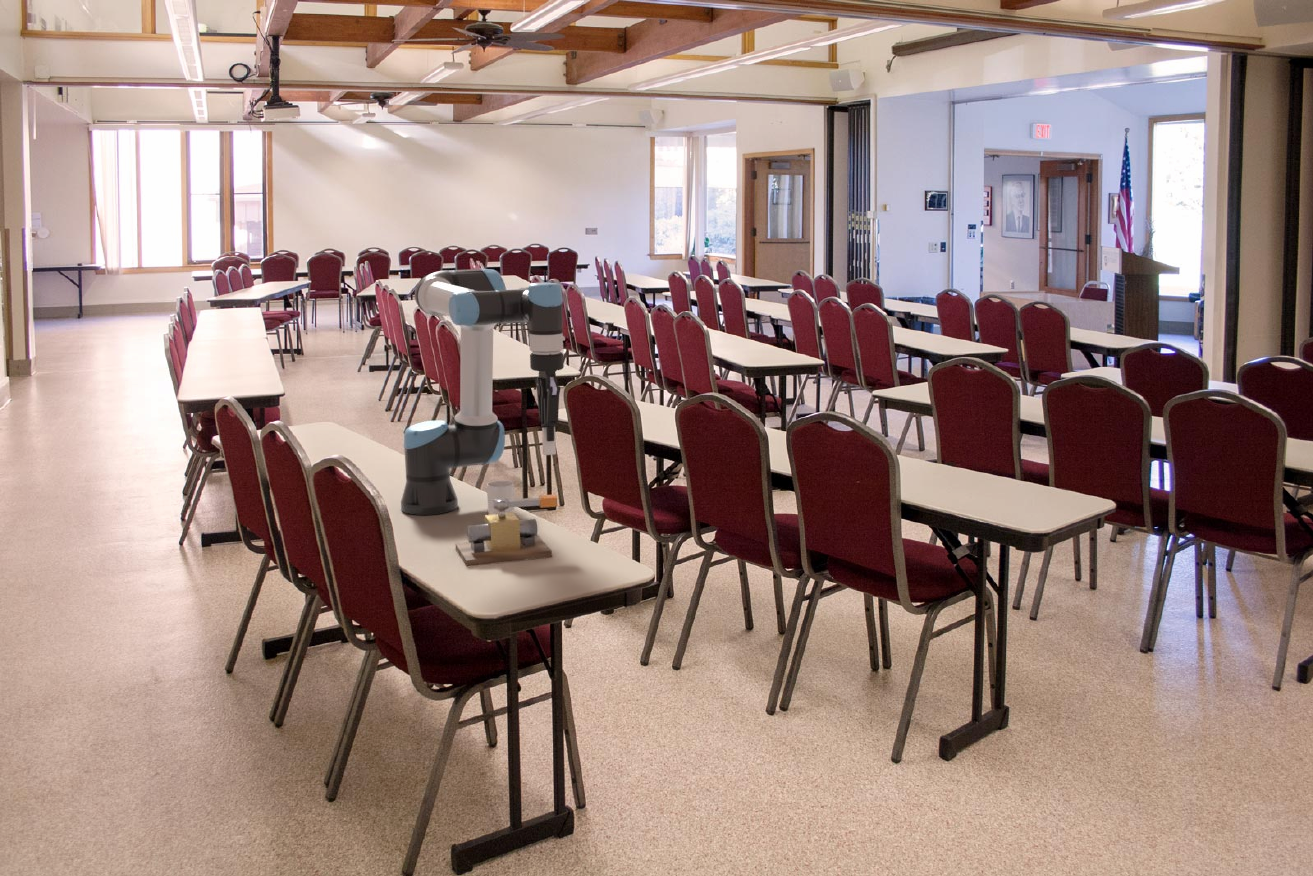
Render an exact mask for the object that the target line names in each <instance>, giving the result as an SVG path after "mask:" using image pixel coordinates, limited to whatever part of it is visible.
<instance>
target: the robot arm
mask: <svg viewBox="0 0 1313 876" xmlns="http://www.w3.org/2000/svg"><path fill="white" fill-rule="evenodd" d="M562 289H563V288H562V286H561V285H560V284H559V283H558V282H550V281H549V282H545V281H544V282H543V281H542V282H534V283H530V284H529V285H528V287H519V288H515V289H507V288H506V285H505V282H504V278H503V277H502V275H501V273H500V272H499V271H497V270H495V269H488V268H471V269H453V270H452V269H451V270H450V269H449V270H447V269H446V270H439V271H435V272H432V273H429V274H427V275H425V276H423V278H421V279H420V280H419V282H418V283H417V285H416V286H415V290H414V299H415V302H416V305H417V306H418V307H419V309H420V310H421V311H422V312H424V313H426V314H429V315H431V316H436V317H437V316H445V317H446V316H447V317H450V320H451V322H452V323H453V324H454V325H455V326H460V327H459V328H460V368H459V369H460V373H459V374H460V377H459V379H460V385H459V386H460V387H459V388H460V391H459V392H460V393H459V394H460V395H459V396H460V397H459V398H460V399H459V401H460V402H459V404H460V407H459V409H460V410H459V411H458V413H456V414H455V415H454V424H448V423H447V421H446V420H441V419H438V420H437V419H436V420H427V421H422V422H418V423H416V424H412V425H410V426H409V427H407V428H406V429H405V431H404V433H403V434H404V435H403V449H404V450H403V451H404V465H405V485H404V489H403V492H402V495H401V496H402V497H401V501H400V509H401V512H403V513H405V514H408V513H409V515H414V514H415V515H416V516H417V515H418V516H429V515H431V516H432V515H439V514H444V513H445V514H446V513H449V512H452V511H454V510H456V509H458V506H459V503H458V496H457V493H456V491H455V488H454V486H453V484H452V481H451V474H450V471H451V470H450V469H454V468H461V467H463V468H464V467H470V466H471V467H473V466H485V465H487V464H492V463H493V464H494V463H497V462H498V461H499V460H500V459H501V457H502V456H503V453H504V450H505V444H506V435H505V427H504V425H503V423H502V422H501V421H500V420H499V419H498V416H497V414H495V413H494V412H493V380H494V379H493V377H494V375H493V374H494V373H493V371H494V370H493V369H494V364H493V363H494V327H495V326H496V325H498V324H509V323H510V324H511V323H513V324H514V323H528V326H529V327H528V329H529V330H528V331H529V332H528V336H529V337H528V338H529V351H530V352H531V353H530V354H529V361H530V362H529V363H530V364H529V365H530V370H532V371H536V372H538V376H537V377H536V378H535V380H534V382H535V387H536V396H537V407H538V409H537V410H538V420H539V422H541V423H540V426H541V435H542V437H541V439H542V441H541V442H542V455H543V456H552V455H556V454H557V451H556V449H557V445H556V443H557V442H556V427H557V426H559V409H560V407H559V406H560V393H561V386H560V385H559V379H558V377H557V373H556V372H557V371H561V370H563V369H564V367H565V366H564V365H565V363H564V362H565V361H564V355H565V354H564V353H563V352H561V351H563V349H564V342H563V341H565V340H566V337H565V336H564V335H563V334H564V333H563V331H564V329H563V326H564V324H563V317H564V316H563V302H564V298H563V290H562Z"/></svg>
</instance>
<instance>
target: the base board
mask: <svg viewBox="0 0 1313 876" xmlns="http://www.w3.org/2000/svg"><path fill="white" fill-rule="evenodd" d="M534 537H535V546H532V547H524V545H523V544H522V543H521V537H520V549H519V550H510V551H501V552H493V553H492V552H491V551H490V550H489V548H488V547H487V545H486V541H483V542H484V547H485V552H479V553H474V552H473V550H472V549H471V543H469V542H468V541H467V542H466V541H465V542H456V543H455V544H454V545H455V551H456V552H457V554H458V555H459V557H460V559H461V560H462V561H463V563H464V565H465V566H466V567H475V566H482V565H483V566H485V565H492V563H493V564H500V563H501V564H503V563H508V562H517V561H526V560H525V559H528V560H535V559H543V558H544V557H545V558H551V557H550V556H552V557H553V555H552V554H553V553H552V552H553V551H552V549H551V548H550V547H549V546H548V545H547V544H546V542H544V540H543V539H542V538H541V537H540V536H539V535H538V534H537V535H536V536H534Z"/></svg>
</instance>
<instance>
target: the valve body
mask: <svg viewBox="0 0 1313 876" xmlns="http://www.w3.org/2000/svg"><path fill="white" fill-rule="evenodd" d="M537 522H538V521H537V520H536V518H528V519H519V518H518V516H516V514H515V512H514V513H513V512H512V513H505V509H504V510H498V514H493V515H489V514H485V515H484V523H480V524H479V523H478V524H471V525H470V524H469V525H467V526H466V536H467V537H466V538H467V542H469V543H471V549H472V550H473V552H474V553H479V552H485V547H484V542H483V541H486V545H487V547H488V548H489V550H490V551H491V552H492V553H493V552H501V551H510V550H519V549H520V537H521V543H522V544H523V545H524V547H532V546H535V537H534V536H536V535H538V523H537Z"/></svg>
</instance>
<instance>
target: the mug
mask: <svg viewBox="0 0 1313 876" xmlns="http://www.w3.org/2000/svg"><path fill="white" fill-rule="evenodd" d="M514 484H515V482H513V481H510V480H494V481H490V482H488V483H487V484H486V495H487V510H488V511H487V512H488V515H493V514H498V510H497V509H494V503H493V500H495V499H499V498H506V499H515V485H514ZM512 512H513V513H514V514H515V507H509V508H508V509H505V513H512Z"/></svg>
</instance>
